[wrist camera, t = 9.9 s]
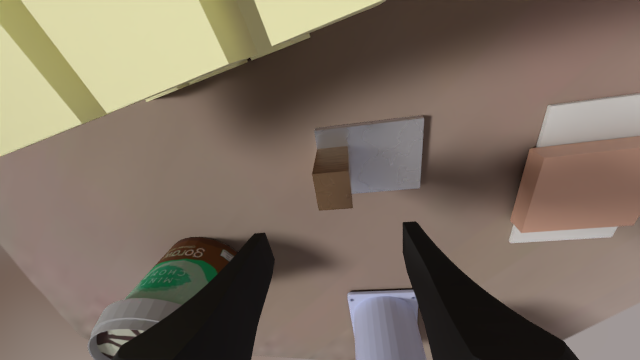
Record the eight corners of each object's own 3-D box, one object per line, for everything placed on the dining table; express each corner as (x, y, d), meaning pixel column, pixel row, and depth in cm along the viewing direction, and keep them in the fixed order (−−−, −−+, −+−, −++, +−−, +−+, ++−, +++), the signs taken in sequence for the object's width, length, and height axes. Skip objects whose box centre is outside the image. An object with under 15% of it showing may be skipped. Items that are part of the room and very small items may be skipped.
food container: (226, 216, 25) (167, 313, 17) (256, 257, 28) (219, 358, 19) (135, 243, 28) (45, 336, 20) (170, 278, 31) (105, 372, 23)
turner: (325, 189, 23) (322, 226, 19) (315, 126, 20) (308, 153, 16) (416, 181, 22) (434, 219, 18) (420, 114, 19) (443, 139, 15)
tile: (509, 219, 22) (613, 211, 21) (521, 232, 21) (633, 225, 20) (528, 147, 19) (654, 133, 18) (544, 157, 17) (682, 143, 16)
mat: (608, 234, 23) (611, 237, 23) (508, 240, 24) (510, 243, 24) (690, 86, 16) (696, 87, 16) (548, 105, 18) (551, 106, 17)
